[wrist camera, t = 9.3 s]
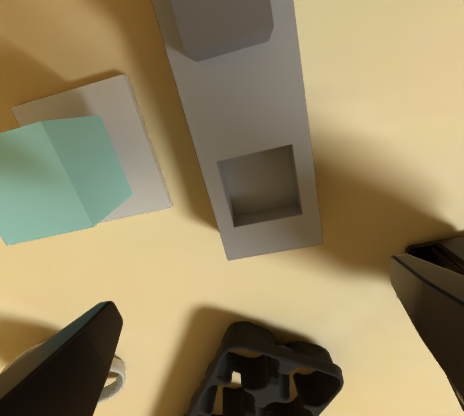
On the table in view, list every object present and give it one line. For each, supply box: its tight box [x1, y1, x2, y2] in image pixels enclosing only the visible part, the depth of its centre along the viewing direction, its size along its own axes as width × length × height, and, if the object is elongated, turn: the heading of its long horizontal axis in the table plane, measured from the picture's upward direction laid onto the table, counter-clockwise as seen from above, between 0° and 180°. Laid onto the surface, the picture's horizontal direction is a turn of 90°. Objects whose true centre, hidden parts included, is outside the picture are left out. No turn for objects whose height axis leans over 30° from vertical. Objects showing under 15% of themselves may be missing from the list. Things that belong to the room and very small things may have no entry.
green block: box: [0, 115, 133, 245], centre depth 16 cm, size 6×6×7 cm
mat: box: [10, 74, 173, 223], centre depth 20 cm, size 10×9×1 cm
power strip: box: [151, 0, 323, 261], centre depth 15 cm, size 20×7×6 cm, turn 14°
